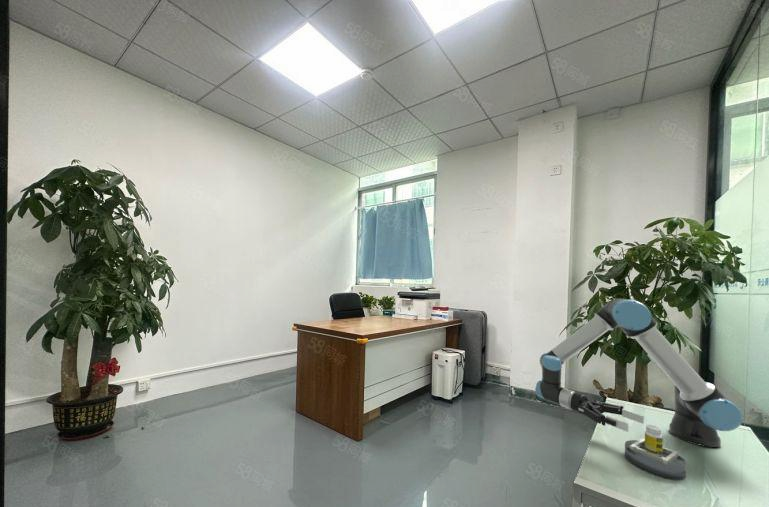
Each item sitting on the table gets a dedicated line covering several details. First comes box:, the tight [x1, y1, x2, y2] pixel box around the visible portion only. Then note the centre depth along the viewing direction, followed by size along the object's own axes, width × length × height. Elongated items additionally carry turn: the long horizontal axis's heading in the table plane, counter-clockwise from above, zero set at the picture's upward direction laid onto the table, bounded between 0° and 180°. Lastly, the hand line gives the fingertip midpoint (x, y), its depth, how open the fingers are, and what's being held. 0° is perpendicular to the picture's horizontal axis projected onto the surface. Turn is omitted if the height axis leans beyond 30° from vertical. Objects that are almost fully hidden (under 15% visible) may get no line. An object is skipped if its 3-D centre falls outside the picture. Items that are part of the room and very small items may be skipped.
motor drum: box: [624, 438, 687, 481], centre depth 107 cm, size 16×16×5 cm
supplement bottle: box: [644, 424, 664, 456], centre depth 108 cm, size 5×5×8 cm
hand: (635, 423), depth 112 cm, fingers open, 13 cm apart
